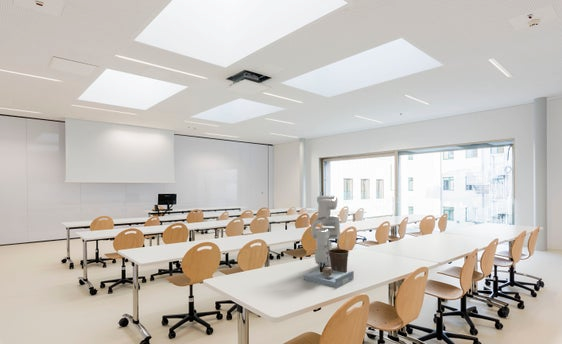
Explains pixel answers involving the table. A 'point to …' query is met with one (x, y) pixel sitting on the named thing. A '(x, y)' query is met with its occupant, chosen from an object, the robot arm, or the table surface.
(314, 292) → the table surface
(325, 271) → the walnut cube
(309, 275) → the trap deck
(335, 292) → the table surface
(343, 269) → the plant pot
